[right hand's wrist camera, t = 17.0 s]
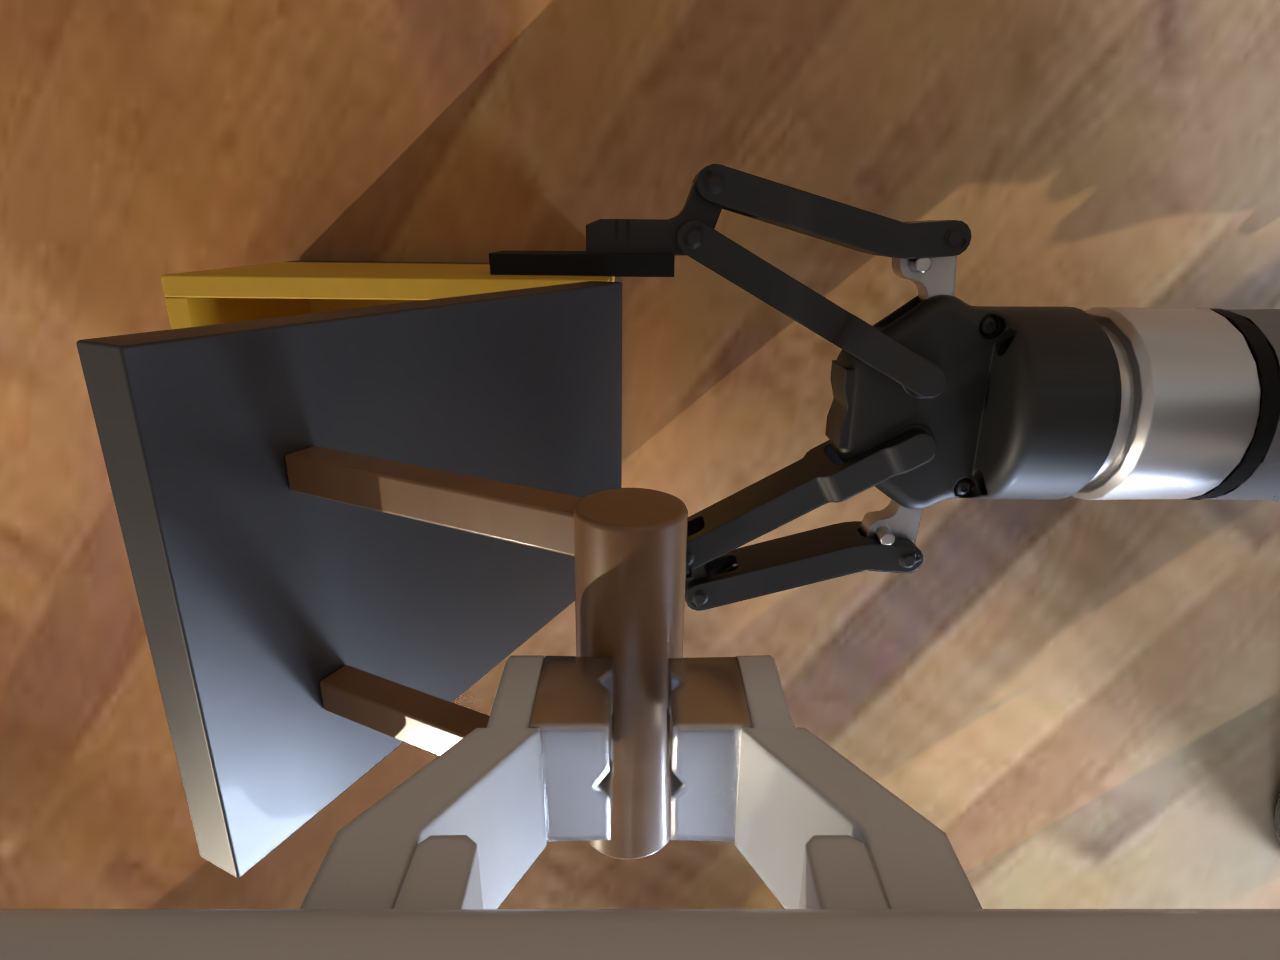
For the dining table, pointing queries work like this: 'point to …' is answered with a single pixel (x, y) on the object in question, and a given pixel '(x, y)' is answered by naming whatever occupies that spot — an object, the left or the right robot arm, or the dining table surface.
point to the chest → (329, 288)
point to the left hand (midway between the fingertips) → (504, 402)
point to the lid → (383, 541)
